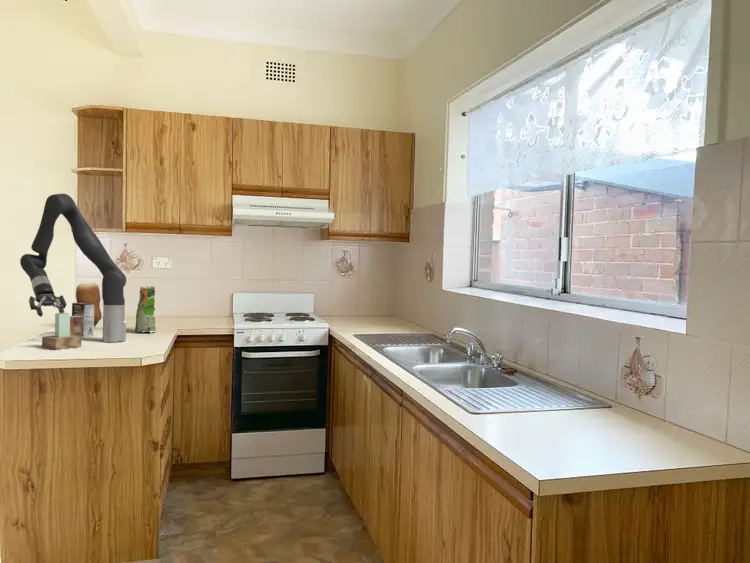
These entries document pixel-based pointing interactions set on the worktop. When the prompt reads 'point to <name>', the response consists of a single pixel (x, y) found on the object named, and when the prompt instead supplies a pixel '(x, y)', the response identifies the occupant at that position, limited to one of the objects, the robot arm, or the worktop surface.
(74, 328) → the small box
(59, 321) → the sage green pillar
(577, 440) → the worktop surface
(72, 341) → the riser
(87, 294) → the butternut squash
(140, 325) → the pouch
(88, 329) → the coffee box
